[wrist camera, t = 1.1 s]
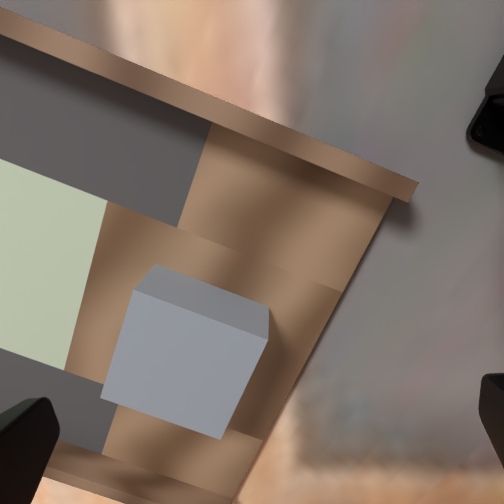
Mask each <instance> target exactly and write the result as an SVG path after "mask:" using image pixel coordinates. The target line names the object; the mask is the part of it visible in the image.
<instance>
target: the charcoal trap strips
mask: <svg viewBox="0 0 504 504" xmlns="http://www.w3.org/2000/svg"><path fill="white" fill-rule="evenodd" d="M211 125H212V121H209V120H207V119H204V118H202V117H200V116H197V115H195V114H192V113H190V112H187V111H185V110H183V109H180V108H178V107H175V106H173V105H171V104H168V103H166V102H163V101H161V100H158V99H156V98H154V97H151V96H149V95H146V94H144V93H142V92H139V91H137V90H134V89H132V88H129V87H127V86H125V85H122V84H120V83H117V82H115V81H113V80H110V79H108V78H105V77H103V76H101V75H98V74H96V73H93V72H91V71H88V70H86V69H84V68H81V67H79V66H76V65H74V64H72V63H69V62H67V61H64V60H62V59H59V58H57V57H55V56H52V55H50V54H47V53H45V52H43V51H40V50H38V49H35V48H33V47H30V46H28V45H26V44H23V43H21V42H18V41H16V40H14V39H11V38H9V37H6V36H4V35H2V34H0V159H2V160H4V161H7V162H9V163H12V164H15V165H17V166H20V167H22V168H25V169H27V170H30V171H33V172H35V173H38V174H40V175H43V176H45V177H48V178H50V179H53V180H56V181H58V182H61V183H63V184H66V185H68V186H71V187H74V188H76V189H79V190H81V191H84V192H86V193H89V194H92V195H94V196H97V197H99V198H102V199H104V200H107V201H109V202H112V203H115V204H117V205H120V206H122V207H125V208H127V209H130V210H133V211H135V212H138V213H140V214H143V215H145V216H148V217H151V218H153V219H156V220H158V221H161V222H163V223H166V224H169V225H171V226H174V227H176V228H177V226H178V223H179V220H180V217H181V214H182V211H183V208H184V205H185V202H186V199H187V196H188V193H189V190H190V187H191V184H192V181H193V178H194V175H195V172H196V169H197V166H198V163H199V160H200V157H201V154H202V151H203V148H204V145H205V142H206V139H207V136H208V134H209V131H210V128H211ZM103 386H104V384H101V383H98V382H95V381H93V380H90V379H87V378H84V377H81V376H78V375H76V374H73V373H70V372H67V371H64V370H61V369H59V368H56V367H53V366H50V365H47V364H44V363H42V362H39V361H36V360H33V359H30V358H27V357H25V356H22V355H19V354H16V353H13V352H10V351H8V350H5V349H2V348H0V413H2V412H4V411H6V410H7V409H9V408H11V407H12V406H14V405H16V404H18V403H19V402H21V401H23V400H24V399H26V398H29V397H43V396H44V397H48V398H49V399H50V400H51V402H52V405H53V408H54V410H55V413H56V416H57V419H58V421H59V424H60V435H59V438H58V440H61V441H64V442H67V443H70V444H73V445H76V446H79V447H82V448H84V449H87V450H90V451H93V452H96V453H99V454H102V451H103V448H104V445H105V442H106V439H107V436H108V433H109V430H110V427H111V424H112V421H113V418H114V415H115V412H116V409H117V406H118V404H116V403H113V402H111V401H108V400H105V399H102V398H100V396H101V393H102V390H103Z"/></svg>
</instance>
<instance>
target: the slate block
mask: <svg viewBox="0 0 504 504" xmlns="http://www.w3.org/2000/svg"><path fill="white" fill-rule="evenodd" d="M268 330H269V307H268V306H265V305H263V304H260V303H258V302H255V301H252V300H250V299H247V298H244V297H242V296H239V295H237V294H234V293H231V292H229V291H226V290H223V289H221V288H218V287H216V286H213V285H210V284H208V283H205V282H202V281H200V280H197V279H195V278H192V277H189V276H187V275H184V274H181V273H179V272H176V271H174V270H171V269H168V268H166V267H163V266H160V265H158V264H155V265H154V266H153V267H152V269H151V270H150V271H149V272H148V273H147V274H146V276H145V277H144V278H143V279H142V280H141V281H140V283H139V284H138V285H137V286H136V287H135V288H134V290H133V293H132V296H131V299H130V302H129V306H128V309H127V312H126V315H125V319H124V322H123V325H122V328H121V332H120V335H119V338H118V341H117V344H116V348H115V351H114V354H113V357H112V361H111V364H110V367H109V370H108V374H107V377H106V380H105V383H104V386H103V390H102V393H101V396H100V398H102V399H105V400H108V401H111V402H113V403H116V404H119V405H122V406H125V407H128V408H131V409H133V410H136V411H139V412H142V413H145V414H148V415H151V416H153V417H156V418H159V419H162V420H165V421H168V422H171V423H174V424H176V425H179V426H182V427H185V428H188V429H191V430H194V431H196V432H199V433H202V434H205V435H208V436H211V437H214V438H216V439H219V440H221V438H222V436H223V434H224V432H225V429H226V427H227V425H228V423H229V421H230V419H231V417H232V415H233V413H234V411H235V409H236V406H237V404H238V402H239V400H240V398H241V396H242V394H243V392H244V390H245V388H246V386H247V383H248V381H249V379H250V377H251V375H252V373H253V371H254V369H255V367H256V365H257V363H258V360H259V358H260V356H261V354H262V352H263V350H264V348H265V346H266V344H267V342H268Z"/></svg>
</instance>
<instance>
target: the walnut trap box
mask: <svg viewBox="0 0 504 504" xmlns="http://www.w3.org/2000/svg"><path fill="white" fill-rule="evenodd" d="M0 34H2V35H4V36H6V37H9V38H11V39H14V40H16V41H18V42H21V43H23V44H26V45H28V46H30V47H33V48H35V49H38V50H40V51H43V52H45V53H47V54H50V55H52V56H55V57H57V58H59V59H62V60H64V61H67V62H69V63H72V64H74V65H76V66H79V67H81V68H84V69H86V70H88V71H91V72H93V73H96V74H98V75H101V76H103V77H105V78H108V79H110V80H113V81H115V82H117V83H120V84H122V85H125V86H127V87H129V88H132V89H134V90H137V91H139V92H142V93H144V94H146V95H149V96H151V97H154V98H156V99H158V100H161V101H163V102H166V103H168V104H171V105H173V106H175V107H178V108H180V109H183V110H185V111H187V112H190V113H192V114H195V115H197V116H200V117H202V118H204V119H207V120H209V121H212V125H211V128H210V131H209V134H208V136H207V139H206V142H205V145H204V148H203V151H202V154H201V157H200V160H199V163H198V166H197V169H196V172H195V175H194V178H193V181H192V184H191V187H190V190H189V193H188V196H187V199H186V202H185V205H184V208H183V211H182V214H181V217H180V220H179V223H178V226H177V228H176V227H174V226H171V225H169V224H166V223H163V222H161V221H158V220H156V219H153V218H151V217H148V216H145V215H143V214H140V213H138V212H135V211H133V210H130V209H127V208H125V207H122V206H120V205H117V204H115V203H112V202H109V201H107V204H106V208H105V212H104V216H103V220H102V224H101V228H100V232H99V236H98V239H97V243H96V247H95V251H94V255H93V259H92V263H91V267H90V270H89V274H88V278H87V282H86V286H85V290H84V294H83V298H82V302H81V305H80V309H79V313H78V317H77V321H76V325H75V329H74V333H73V337H72V340H71V344H70V348H69V352H68V356H67V360H66V364H65V368H64V371H67V372H70V373H73V374H76V375H78V376H81V377H84V378H87V379H90V380H93V381H95V382H98V383H101V384H104V383H105V380H106V377H107V374H108V370H109V367H110V364H111V361H112V357H113V354H114V351H115V348H116V344H117V341H118V338H119V335H120V332H121V328H122V325H123V322H124V319H125V315H126V312H127V309H128V306H129V302H130V299H131V296H132V293H133V290H134V288H135V287H136V286H137V285H138V284H139V283H140V281H141V280H142V279H143V278H144V277H145V276H146V274H147V273H148V272H149V271H150V270H151V269H152V267H153V266H154V265H155V264H158V265H160V266H163V267H166V268H168V269H171V270H174V271H176V272H179V273H181V274H184V275H187V276H189V277H192V278H195V279H197V280H200V281H202V282H205V283H208V284H210V285H213V286H216V287H218V288H221V289H223V290H226V291H229V292H231V293H234V294H237V295H239V296H242V297H244V298H247V299H250V300H252V301H255V302H258V303H260V304H263V305H265V306H268V307H269V330H268V342H267V344H266V346H265V348H264V350H263V352H262V354H261V356H260V358H259V360H258V363H257V365H256V367H255V369H254V371H253V373H252V375H251V377H250V379H249V381H248V383H247V386H246V388H245V390H244V392H243V394H242V396H241V398H240V400H239V402H238V404H237V406H236V409H235V411H234V413H233V415H232V417H231V419H230V421H229V423H228V425H227V427H226V429H225V432H224V434H223V436H222V438H221V440H219V439H216V438H214V437H211V436H208V435H205V434H202V433H199V432H196V431H194V430H191V429H188V428H185V427H182V426H179V425H176V424H174V423H171V422H168V421H165V420H162V419H159V418H156V417H153V416H151V415H148V414H145V413H142V412H139V411H136V410H133V409H131V408H128V407H125V406H122V405H119V404H118V406H117V409H116V412H115V415H114V418H113V421H112V424H111V427H110V430H109V433H108V436H107V439H106V442H105V445H104V448H103V451H102V454H99V453H96V452H93V451H90V450H87V449H84V448H82V447H79V446H76V445H73V444H70V443H67V442H64V441H61V440H58V441H57V443H56V446H55V448H54V450H53V453H52V455H51V457H50V460H49V462H48V464H47V467H46V469H45V472H44V474H43V477H47V478H50V479H53V480H56V481H59V482H62V483H65V484H68V485H71V486H74V487H77V488H80V489H83V490H86V491H89V492H92V493H95V494H98V495H101V496H104V497H107V498H110V499H113V500H116V501H119V502H122V503H125V504H232V501H233V497H234V495H235V493H236V492H237V490H238V488H239V486H240V484H241V482H242V480H243V478H244V477H245V475H246V473H247V471H248V469H249V467H250V465H251V463H252V462H253V460H254V458H255V456H256V454H257V452H258V450H259V448H260V447H261V445H262V443H263V441H264V439H265V437H266V435H267V433H268V432H269V430H270V428H271V426H272V424H273V422H274V420H275V418H276V417H277V415H278V413H279V411H280V409H281V407H282V405H283V403H284V402H285V400H286V398H287V396H288V394H289V392H290V390H291V388H292V387H293V385H294V383H295V381H296V379H297V377H298V375H299V373H300V372H301V370H302V368H303V366H304V364H305V362H306V360H307V358H308V357H309V355H310V353H311V351H312V349H313V347H314V345H315V343H316V342H317V340H318V338H319V336H320V334H321V332H322V330H323V328H324V327H325V325H326V323H327V321H328V319H329V317H330V315H331V313H332V312H333V310H334V308H335V306H336V304H337V302H338V300H339V298H340V297H341V295H342V293H343V291H344V289H345V287H346V285H347V283H348V282H349V280H350V278H351V276H352V274H353V272H354V270H355V268H356V267H357V265H358V263H359V261H360V259H361V257H362V255H363V253H364V252H365V250H366V248H367V246H368V244H369V242H370V240H371V238H372V237H373V235H374V233H375V231H376V229H377V227H378V225H379V223H380V222H381V220H382V218H383V216H384V214H385V212H386V210H387V209H388V207H389V205H390V203H391V201H392V199H393V197H395V198H398V199H400V200H402V201H405V202H407V203H408V202H409V200H410V198H411V197H412V195H413V193H414V191H415V189H416V188H417V186H418V184H419V182H416V181H414V180H411V179H409V178H407V177H404V176H402V175H400V174H397V173H395V172H392V171H390V170H388V169H385V168H383V167H380V166H378V165H376V164H373V163H371V162H369V161H366V160H364V159H361V158H359V157H357V156H354V155H352V154H349V153H347V152H345V151H342V150H340V149H338V148H335V147H333V146H330V145H328V144H326V143H323V142H321V141H318V140H316V139H314V138H311V137H309V136H307V135H304V134H302V133H299V132H297V131H295V130H292V129H290V128H287V127H285V126H283V125H280V124H278V123H276V122H273V121H271V120H268V119H266V118H264V117H261V116H259V115H256V114H254V113H252V112H249V111H247V110H245V109H242V108H240V107H237V106H235V105H233V104H230V103H228V102H225V101H223V100H221V99H218V98H216V97H214V96H211V95H209V94H206V93H204V92H202V91H199V90H197V89H194V88H192V87H190V86H187V85H185V84H183V83H180V82H178V81H175V80H173V79H171V78H168V77H166V76H163V75H161V74H159V73H156V72H154V71H152V70H149V69H147V68H144V67H142V66H140V65H137V64H135V63H132V62H130V61H128V60H125V59H123V58H121V57H118V56H116V55H113V54H111V53H109V52H106V51H104V50H101V49H99V48H97V47H94V46H92V45H90V44H87V43H85V42H82V41H80V40H78V39H75V38H73V37H70V36H68V35H66V34H63V33H61V32H59V31H56V30H54V29H51V28H49V27H47V26H44V25H42V24H39V23H37V22H35V21H32V20H30V19H28V18H25V17H23V16H20V15H18V14H16V13H13V12H11V11H8V10H6V9H4V8H1V7H0Z"/></svg>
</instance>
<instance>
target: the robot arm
mask: <svg viewBox="0 0 504 504" xmlns="http://www.w3.org/2000/svg"><path fill="white" fill-rule="evenodd" d="M485 95H486V96H485V98H484V99H483V101H482V103H481V105H480V107H479V108H478V110H477V112H476V114H475V115H474V117H473V119H472V121H471V122H470V124H469V126H468V128H467V131H466V136H467V138H468V139H469V140H470V141H472V142H475V143H477V144H479V145H481V146H484V147H486V148H488V149H491V150H493V151H495V152H498V153H500V154H502V155H504V55H503V57H502V59H501V61H500V63H499V64H498V66H497V68H496V70H495V71H494V73H493V75H492V77H491V79H490V80H489V82H488V84H487V86H486V87H485ZM479 126H481V127H482V133H481V134H480V135H479V136H477V135H476V129H477V128H478V127H479ZM479 415H480V418H481V421H482V423H483V425H484V428H485V430H486V432H487V434H488V436H489V438H490V440H491V443H492V445H493V447H494V449H495V451H496V453H497V455H498V457H499V460H500V462H501V464H502V466H503V468H504V373H490V374H485V375H484V376H483V377H482V380H481V389H480V398H479ZM59 435H60V424H59V421H58V419H57V416H56V413H55V410H54V408H53V405H52V402H51V400H50V399H49V398H48V397H44V396H43V397H29V398H26V399H24V400H23V401H21V402H19V403H18V404H16V405H14V406H12V407H11V408H9V409H7V410H6V411H4V412H2V413H0V504H31V502H32V500H33V498H34V495H35V493H36V491H37V488H38V486H39V483H40V481H41V479H42V476H43V474H44V472H45V469H46V467H47V464H48V462H49V460H50V457H51V455H52V453H53V450H54V448H55V446H56V443H57V441H58V438H59Z"/></svg>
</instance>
